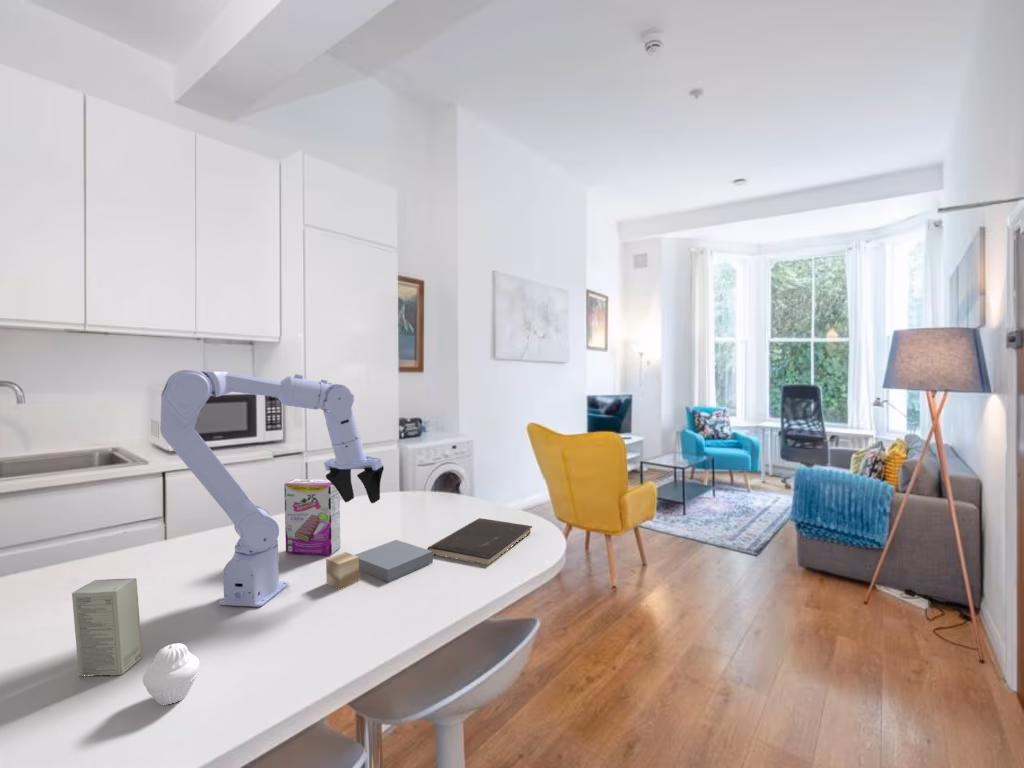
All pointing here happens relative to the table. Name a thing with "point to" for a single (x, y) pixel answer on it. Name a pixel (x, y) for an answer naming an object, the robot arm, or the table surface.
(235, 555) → the robot arm
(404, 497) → the table surface
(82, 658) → the skincare box
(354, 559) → the oak block
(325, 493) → the candy bar box
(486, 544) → the hardcover book
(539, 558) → the table surface
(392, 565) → the slate base
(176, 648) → the muffin
